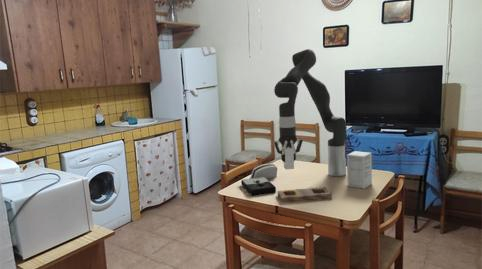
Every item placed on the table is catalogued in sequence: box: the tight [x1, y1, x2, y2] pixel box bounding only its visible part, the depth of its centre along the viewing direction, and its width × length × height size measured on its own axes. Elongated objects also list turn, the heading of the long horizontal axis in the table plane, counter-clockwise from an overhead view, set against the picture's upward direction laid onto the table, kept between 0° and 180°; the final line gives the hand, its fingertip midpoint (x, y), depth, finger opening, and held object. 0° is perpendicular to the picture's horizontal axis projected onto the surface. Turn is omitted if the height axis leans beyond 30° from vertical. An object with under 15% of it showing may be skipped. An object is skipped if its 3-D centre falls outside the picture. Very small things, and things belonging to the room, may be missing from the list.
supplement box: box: [346, 150, 373, 189], centre depth 188 cm, size 10×9×17 cm
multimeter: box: [240, 177, 277, 197], centre depth 192 cm, size 13×19×5 cm
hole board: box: [277, 186, 333, 204], centre depth 176 cm, size 24×10×3 cm, turn 95°
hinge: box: [248, 163, 278, 180], centre depth 208 cm, size 17×5×10 cm, turn 123°
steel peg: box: [283, 147, 295, 170], centre depth 172 cm, size 4×4×10 cm
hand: (288, 161), depth 172 cm, fingers closed on steel peg, 4 cm apart
